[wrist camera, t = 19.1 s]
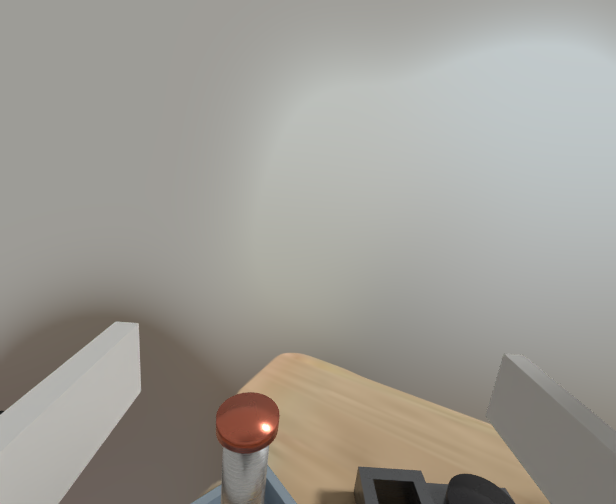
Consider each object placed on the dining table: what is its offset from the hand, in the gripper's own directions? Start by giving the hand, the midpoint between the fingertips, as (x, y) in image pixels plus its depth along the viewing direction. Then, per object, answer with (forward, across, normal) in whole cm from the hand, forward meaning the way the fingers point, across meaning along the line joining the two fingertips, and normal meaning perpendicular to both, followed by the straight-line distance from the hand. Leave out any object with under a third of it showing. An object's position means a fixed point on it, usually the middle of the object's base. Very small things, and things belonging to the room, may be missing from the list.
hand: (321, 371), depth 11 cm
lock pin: (+10, -4, -31) cm, 33 cm away
